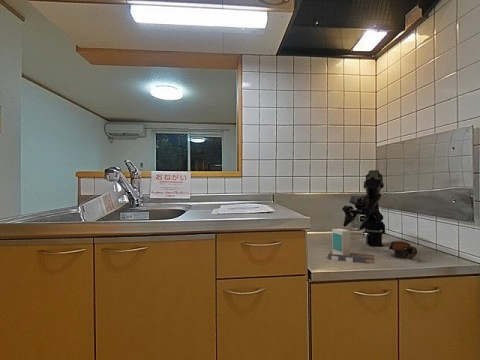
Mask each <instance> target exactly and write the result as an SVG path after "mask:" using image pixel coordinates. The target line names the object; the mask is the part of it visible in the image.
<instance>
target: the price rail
mask: <svg viewBox="0 0 480 360" xmlns="http://www.w3.org/2000/svg"><path fill="white" fill-rule="evenodd" d="M327 256H328V258H329V259H328V260H329V261H342V262H348V263H349V262H351V263H362V264H367V263H366V257H357V256H347V255H336V254H329V253H328V255H327Z"/></svg>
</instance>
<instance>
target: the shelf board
mask: <svg viewBox="0 0 480 360" xmlns="http://www.w3.org/2000/svg"><path fill="white" fill-rule="evenodd" d="M328 254H333V250H330V251H329V253H328ZM350 256H357V257H366V263H365V264H367V263H368V264H375V255H374V254H366V253H364V254H363V253H354V252H350ZM326 259H327V260H329V258H328V255H327V256H326Z"/></svg>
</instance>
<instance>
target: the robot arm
mask: <svg viewBox="0 0 480 360" xmlns="http://www.w3.org/2000/svg"><path fill="white" fill-rule="evenodd" d="M383 178H384V177H383V174H381V173H380V171H379V170H377V169H375V170H374V169H373V170H372V169H371V170H368V173H367V174H366V175H365V180H364V181H363V189H365V193H366V194H365V195H362V196H360V195H351V196H350V199H349V203H350V204H353V206H351V205H344V206H343V207H342V208H341V210H342V212H343V213H344V220H343V227H347V226H348V225H349V224H351V222H353V221H354V220H355V218H356V217H357V216H358V215H361V216H363V217H365V218H364V219H363V221H362V223H361V224H360V226H359V227H358V229H359V230H360V231H362V230H364V233H365V244H366V245H368V246H369V247H384V244H383V235H385V234H386V224H385V223H384V221H383V220H384V215H383V214H382V212H381V211H380V210H379V201H380V199H381V198H382V194H381V190H382V189H383V188H384V186H385V184H384V181H383V180H384V179H383Z"/></svg>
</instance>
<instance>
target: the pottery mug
mask: <svg viewBox="0 0 480 360" xmlns="http://www.w3.org/2000/svg"><path fill="white" fill-rule="evenodd" d="M388 248H389V249H388V250H389V251H391V250H392V251H393V252H394V253H391V254H390V257H391V258H394V259H400V260H407V259H408V260H412V259H413V258H414V257H415V256H417V254H418V249H417V248H416V247H415V246H414V245H412V246H411V244H410V243H408V242H406V241H400V240H397V241H394V240H393V241H391V242H390V245H389V246H388Z"/></svg>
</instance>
